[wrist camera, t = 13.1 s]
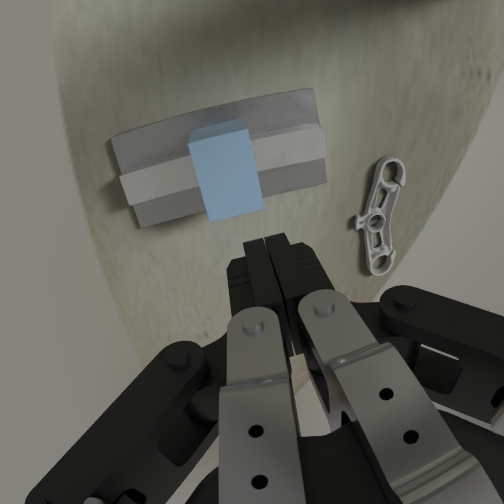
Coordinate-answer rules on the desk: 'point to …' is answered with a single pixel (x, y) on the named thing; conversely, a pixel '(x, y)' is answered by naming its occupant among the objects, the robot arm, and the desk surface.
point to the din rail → (179, 127)
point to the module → (226, 169)
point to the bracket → (385, 215)
